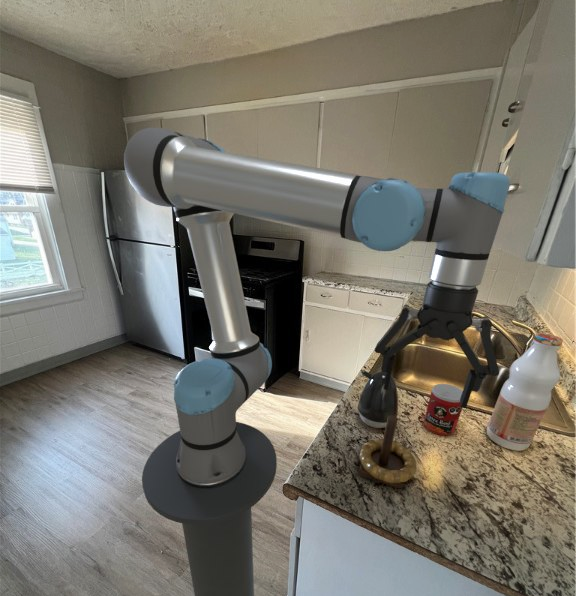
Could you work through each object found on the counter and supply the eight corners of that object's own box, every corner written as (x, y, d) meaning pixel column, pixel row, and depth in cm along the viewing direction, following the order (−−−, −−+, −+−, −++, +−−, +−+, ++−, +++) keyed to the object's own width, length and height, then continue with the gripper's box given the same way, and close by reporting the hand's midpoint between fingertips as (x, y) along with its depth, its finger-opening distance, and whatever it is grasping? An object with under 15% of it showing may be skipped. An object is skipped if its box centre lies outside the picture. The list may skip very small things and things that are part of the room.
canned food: (418, 427, 83) (428, 391, 78) (429, 413, 88) (438, 380, 83) (449, 440, 78) (461, 404, 73) (458, 425, 84) (469, 390, 79)
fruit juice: (477, 433, 81) (513, 332, 69) (499, 423, 85) (536, 326, 73) (515, 456, 74) (563, 349, 62) (536, 444, 78) (586, 341, 66)
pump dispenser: (360, 406, 90) (367, 359, 84) (397, 416, 87) (407, 368, 80) (351, 426, 82) (358, 376, 76) (391, 438, 78) (403, 386, 72)
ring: (354, 474, 66) (355, 465, 65) (364, 439, 76) (365, 431, 75) (413, 493, 62) (416, 484, 61) (416, 453, 72) (418, 445, 71)
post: (358, 475, 67) (366, 425, 62) (365, 448, 75) (373, 401, 69) (401, 489, 64) (415, 438, 59) (404, 459, 72) (416, 411, 66)
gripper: (538, 288, 49) (494, 401, 58) (377, 270, 57) (361, 371, 67) (554, 300, 43) (502, 424, 52) (370, 278, 51) (353, 388, 60)
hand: (423, 395), depth 59 cm, fingers open, 13 cm apart
